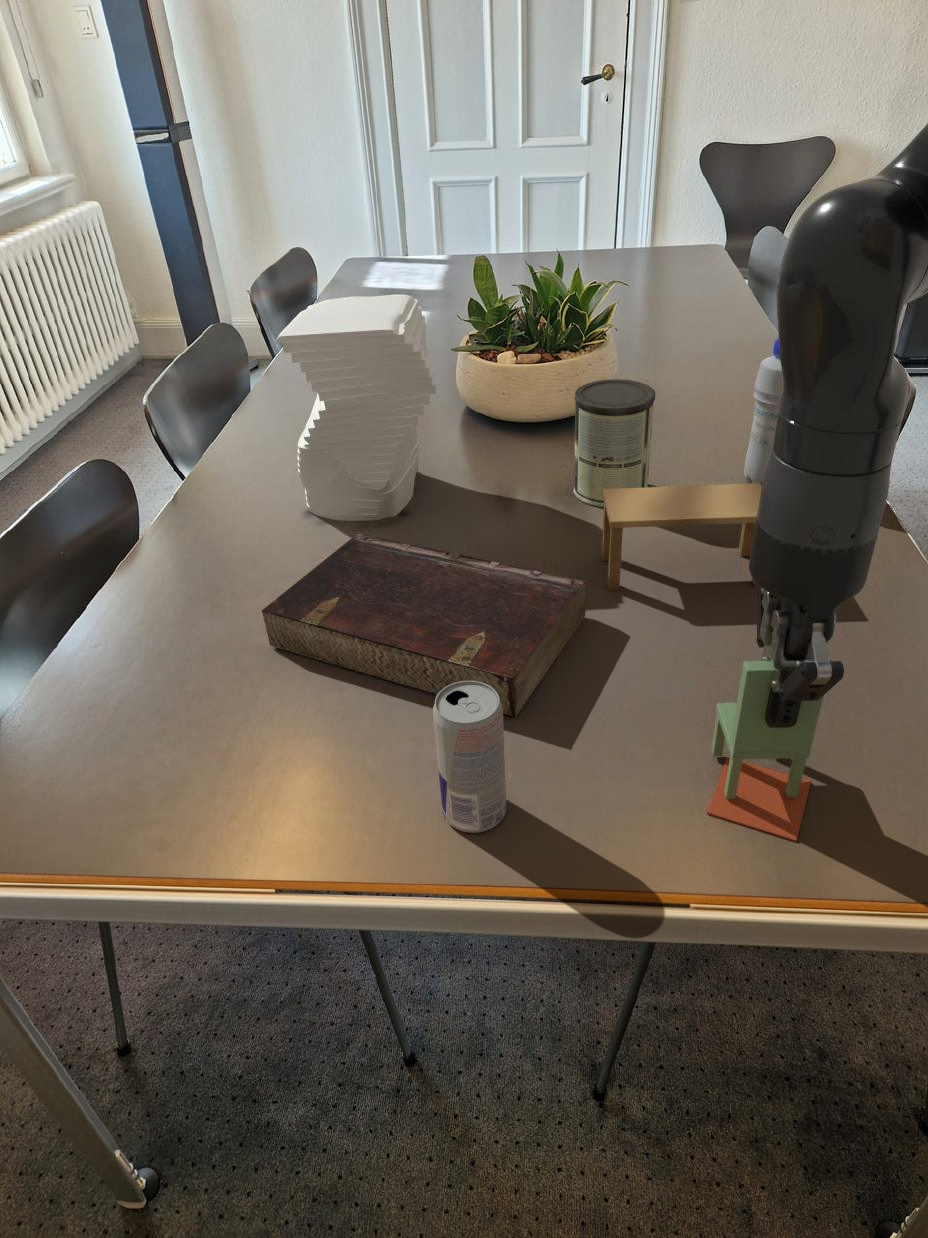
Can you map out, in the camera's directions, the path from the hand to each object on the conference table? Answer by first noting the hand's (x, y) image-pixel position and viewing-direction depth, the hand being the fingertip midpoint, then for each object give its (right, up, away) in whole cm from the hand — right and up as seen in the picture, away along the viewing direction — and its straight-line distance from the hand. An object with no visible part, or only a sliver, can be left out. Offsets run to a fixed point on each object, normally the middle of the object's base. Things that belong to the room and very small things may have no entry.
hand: (776, 715), depth 65 cm
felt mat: (+1, -7, +5) cm, 9 cm away
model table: (+1, +13, +35) cm, 37 cm away
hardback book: (-28, +6, +27) cm, 39 cm away
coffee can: (-4, +25, +52) cm, 58 cm away
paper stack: (-35, +26, +57) cm, 72 cm away
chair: (+1, -6, +7) cm, 9 cm away
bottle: (+18, +26, +52) cm, 61 cm away
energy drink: (-23, -9, +6) cm, 25 cm away
